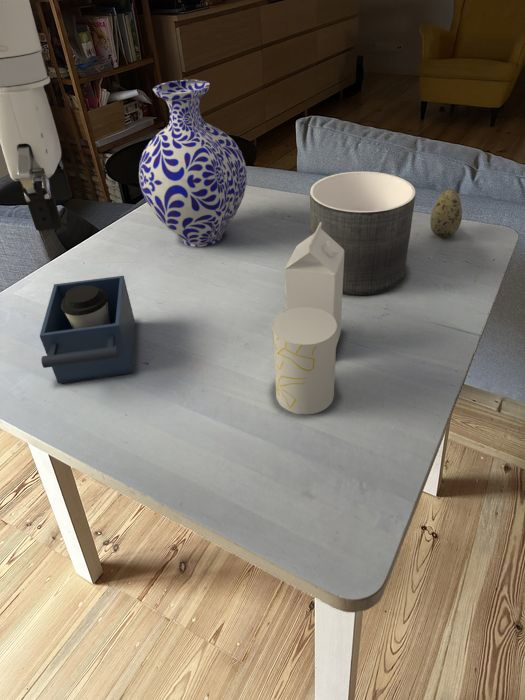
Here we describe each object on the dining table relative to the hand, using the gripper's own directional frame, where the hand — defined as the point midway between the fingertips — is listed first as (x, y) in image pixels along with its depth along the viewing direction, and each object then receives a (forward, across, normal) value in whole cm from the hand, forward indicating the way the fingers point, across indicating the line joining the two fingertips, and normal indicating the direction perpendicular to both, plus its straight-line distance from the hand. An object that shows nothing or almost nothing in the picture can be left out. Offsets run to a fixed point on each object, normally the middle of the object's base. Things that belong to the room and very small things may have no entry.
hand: (55, 213), depth 71 cm
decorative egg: (+23, -23, +68) cm, 76 cm away
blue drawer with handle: (+23, +2, 0) cm, 23 cm away
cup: (+24, +17, +30) cm, 42 cm away
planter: (+23, -14, +47) cm, 55 cm away
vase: (+23, -36, +19) cm, 47 cm away
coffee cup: (+23, 0, 0) cm, 23 cm away
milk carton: (+24, +6, +34) cm, 42 cm away
